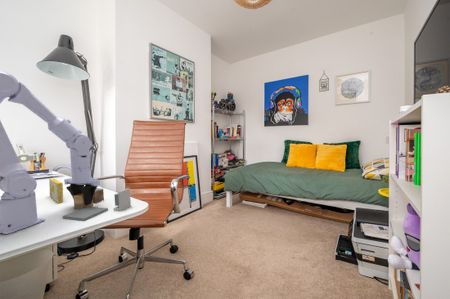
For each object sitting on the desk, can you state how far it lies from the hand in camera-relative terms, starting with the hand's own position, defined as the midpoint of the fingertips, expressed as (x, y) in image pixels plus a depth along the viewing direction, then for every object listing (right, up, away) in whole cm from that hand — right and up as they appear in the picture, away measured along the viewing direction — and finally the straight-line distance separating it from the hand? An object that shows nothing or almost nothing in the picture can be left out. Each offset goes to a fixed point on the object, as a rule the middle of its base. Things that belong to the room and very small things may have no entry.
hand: (83, 203), depth 75 cm
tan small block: (0, -1, 0) cm, 1 cm away
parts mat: (+6, -2, -7) cm, 9 cm away
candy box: (-20, -1, +11) cm, 23 cm away
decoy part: (0, -1, +7) cm, 7 cm away
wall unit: (+15, -1, -1) cm, 15 cm away
